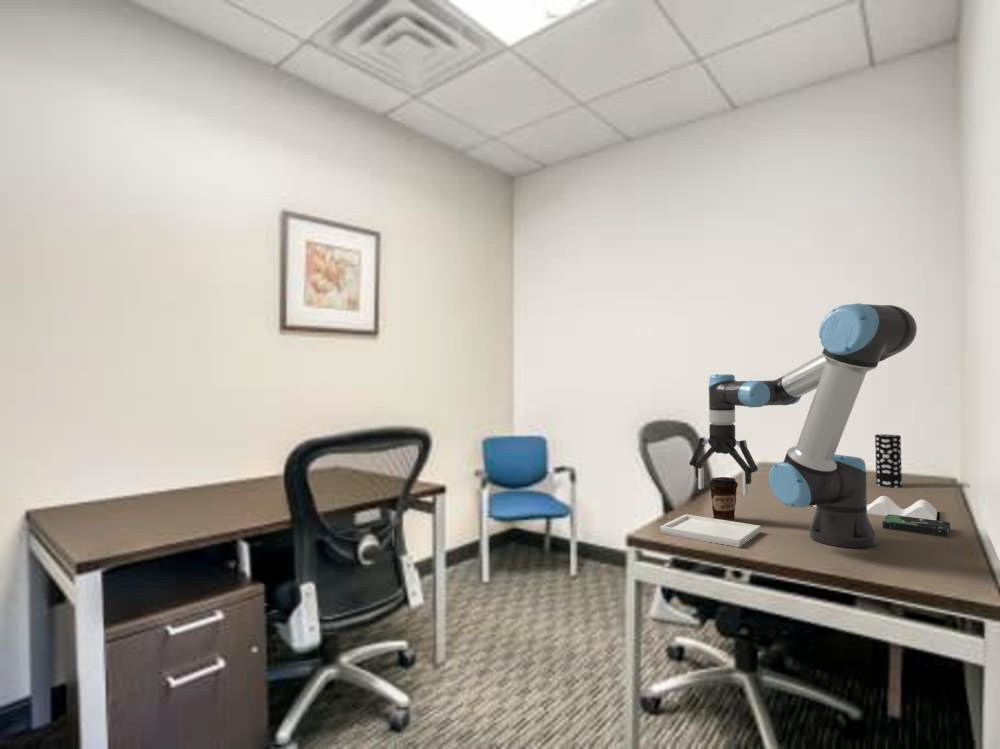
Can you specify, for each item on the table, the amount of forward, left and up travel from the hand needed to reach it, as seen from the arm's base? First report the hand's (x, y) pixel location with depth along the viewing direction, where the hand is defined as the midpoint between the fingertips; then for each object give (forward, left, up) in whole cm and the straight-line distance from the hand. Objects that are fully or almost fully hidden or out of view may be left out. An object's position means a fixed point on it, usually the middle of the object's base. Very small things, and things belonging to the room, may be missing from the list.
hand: (722, 491), depth 172 cm
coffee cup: (0, 0, -9) cm, 9 cm away
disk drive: (-46, -23, -10) cm, 53 cm away
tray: (-2, +17, -9) cm, 20 cm away
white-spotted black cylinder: (-32, -92, -9) cm, 98 cm away
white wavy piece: (-34, -42, -10) cm, 54 cm away
